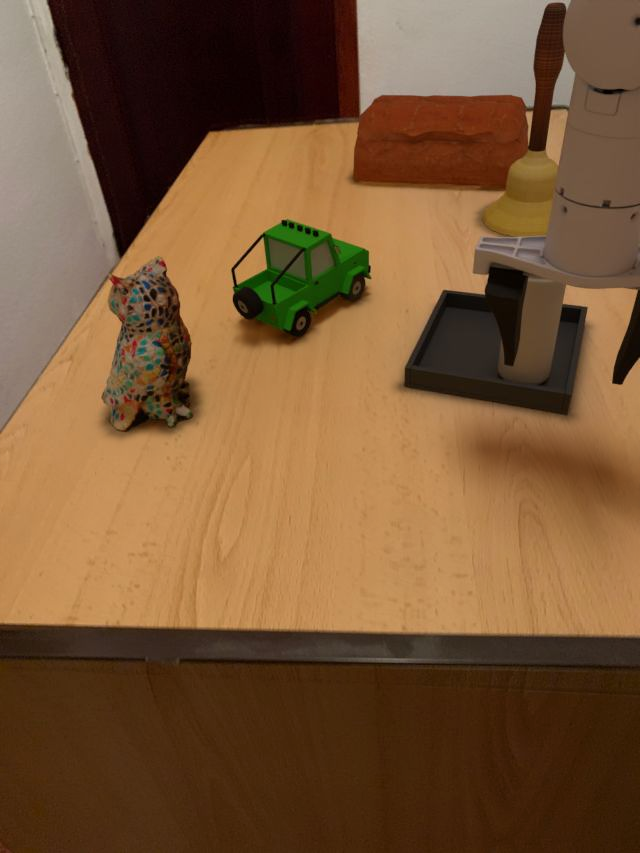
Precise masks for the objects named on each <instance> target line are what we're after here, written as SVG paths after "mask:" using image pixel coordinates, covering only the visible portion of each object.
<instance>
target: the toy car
mask: <svg viewBox="0 0 640 853" xmlns="http://www.w3.org/2000/svg"><path fill="white" fill-rule="evenodd" d="M280 221H281V222H279V223H278V224H275V225H274V226H272V227H270V228H268V229H267V230H265V231H263V232H262V234H259V236H258V237H257V238H256V240H254V242H252V244H251V245H250V247H249V248H248V249H247V250H246V251H245V252H244V253H243V255H242V256H241V257H240V258H239V259H238V260H237V262H235V263H234V265H233V266H232V267H231V269H230V272H231V278H232V282H233V286H232V290H233V294H232V304H233V306H234V308H235V310H236V311H237V312H238V314H239V315H240V316H241V317H242V318H244V319H245V320H248V321H249V320H250V321H251V320H253V319H254V320H257V321H261V322H262V323H264V324H267V325H269V326H270V327H273V328H275V329H277V330H279V331H283V332H284V333H285V334H287V335H290V336H292V337H293V338H300V337H303V336H304V335H305V334H306V333H307V332H308V331H309V329H310V327H311V323H312V315H311V313H312V314H314V315H317V314H318V312H317V310H319V309H321V308H322V307H324V306H325V305H327V304H329V303H331V302H332V301H333V300H335V299H337V298H338V297H341V298H342V299H344V300H347V301H349V302H351V303H352V302H353V303H354V302H357V301H358V300H359V299H360V298H362V296H363V295H364V293H365V289H366V285H367V284H366V279H367V280H372V276H371V275H370V274H371V271H372V270H371V269H372V266H371V265H370V251H369V250H368V249H366V248H365V247H361V246H358V245H356V244H353V243H349V242H346V241H345V240H344V241H343V240H342V239H341V240H340V239H338V238H334V237H333V235H332V233H331V232H328V231H326V230H321V229H319V228H316V227H314V226H313V227H312V226H310V225H307V224H303V223H301V222H298V221H294V220H292V219H288V218H286V219H281V220H280ZM262 239H263V246H264V247H263V248H264V256H265V263H266V269H263V270H262V271H260V272H258V273H256V274H255V275H253V276H250V277H248V278H247V279H244V280H243V281H241V282H239V283H238V281H237V276H236V271H235V270H236V269H237V268H238V266H240V264H241V263H242V262H243V261H244V260H245V259H246V257H247V256H248V255H249V254H250V253H251V252H252V251H253V249H255V247H257V245H259V243H260V242H261V240H262Z"/></svg>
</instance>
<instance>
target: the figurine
mask: <svg viewBox="0 0 640 853" xmlns="http://www.w3.org/2000/svg"><path fill="white" fill-rule="evenodd" d="M167 272H168V268H167V264H166V262H165V260H164V258H163V257H161V256H159V255H156V256H155V257H154V259H150V260H149V261H148V262H147V263H145V264H143V265H141V266H140V268H139V269H138V270H136V271H135V272H134V273H132V274H129V275H127V276H126V277H120V276H116V275H114V274H111V273H110V272H109V273H108V274H107V275H108V280H109V281H110V282H111V283H112V285H111V288H109V289H110V290H109V293H108V298H107V304H108V309H109V311H110V312H111V313H112V314H114V315H115V316H116V317H117V319H118V320H119V321H120V323H121V325H120V330H119V332H118V336H117V339H116V346H115V347H114V348H115V350H114V354H113V358H112V362H111V368H110V369H109V373H108V374H109V375H108V378H107V380H106V385H105V387H104V389H103V391H102V394H101V397H100V399H101V400H102V402H103V404H104V405H106V406H108V407H110V408H111V409H110V411H109V414H110V417H109V422H110V423H111V425H112V426H113V427H114V429H115V430H116V431H121V432H127V431H130V430H132V429H133V428H135V427H136V426H139V425H141V424H143V423H146V422H147V421H148V420H158V419H159V420H160V419H161V420H166V425H167V426H168V427H171V428H172V427H175V425H177V422H178V421H181V420H188V419H189V418H191V417H193V416H194V412H192V409H190V408H189V407H190V406H191V402H190V399H189V398H191V394H190V392H189V391H188V390H187V389H186V388H188V387H189V386H190V383H189V382H188V381H187V380H186V378H187V374H188V373H187V372H188V367H189V365H190V361H191V360H192V344H193V343H192V339H191V334H190V332H189V330H188V327H187V326H186V325H185V323H184V321H183V318H182V316H181V301H180V295H179V292H178V289H177V288H176V287H175V285H173V284H172V281H171V279H170V278H169V276H167Z"/></svg>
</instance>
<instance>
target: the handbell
mask: <svg viewBox="0 0 640 853" xmlns="http://www.w3.org/2000/svg"><path fill="white" fill-rule="evenodd" d="M566 12H567V6H566V4H565V3H564V2H558V1H557V2H550V3H548V4H547V5H546V6H545V8H544V10H543V14H542V18H541V20H540V24H539V28H538V30H537V31H538V32H537V35H536V39H535V48H534V54H533V64H532V65H533V69H532V70H533V75H534V81H535V82H534V83H535V88H534V89H535V90H534V91H535V92H534V100H533V108H532V116H531V124H530V133H529V139H528V145H529V148H528V151H527V153H526V155H525V156H524V157H523V158H521V159H518V160H517V161H516V162H514V163H513V164H512V165H511V167H510V169H509V172H508V177H507V182H506V187H505V191H504V193H503V194H502V195H501V196H500V198H499V199H497V200H496V201H494V202H492V203H491V204H490V205H489V206H488V207H486V209H484V211H483V214H482V216H481V220H482V223H483V225H484V226H486V227H487V228H488V229H490V230H491V231H494V232H496V233H499V234H500V235H504V236H507V237H525V236H546V234H547V229H548V223H549V217H550V212H551V206H552V201H553V195H554V189H555V183H556V177H557V172H558V166H559V164H557V162H556V161H555V160H554V159H552V158H550V157H549V156H548V154H547V144H548V136H549V128H550V120H551V116H552V115H551V114H552V107H553V100H554V92H555V88H556V84H557V81H558V79H559V76H560V74H561V71H562V69H563V66H564V60H565V55H566V54H565V50H564V44H563V26H564V19H565V15H566Z"/></svg>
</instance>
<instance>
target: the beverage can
mask: <svg viewBox="0 0 640 853" xmlns="http://www.w3.org/2000/svg"><path fill="white" fill-rule="evenodd" d="M566 288H567V285H565V284H562V283H559V282H556V281H553V280H550V279H547V278H541V277H533V276H529V277H528V282H527V288H526V293H525V298H524V304H523V309H522V320H521V332H520V341H519V347H518V352H517V355H516V359H515V362H514V365H513V366H507V365H505V364H504V350H503V344H502V339H501V346H500V355H499V364H498V372H499V374H500V376H501V377H502V378H503V379H504V380H508V381H514V382H520V383H527V384H533V385H539V384H541V383H543V382H544V381H546V380H547V378H548V377H549V375H550V370H551V365H552V359H553V354H554V348H555V343H556V337H557V332H558V326H559V321H560V316H561V310H562V305H563V304H564V300H565V294H566Z"/></svg>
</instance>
